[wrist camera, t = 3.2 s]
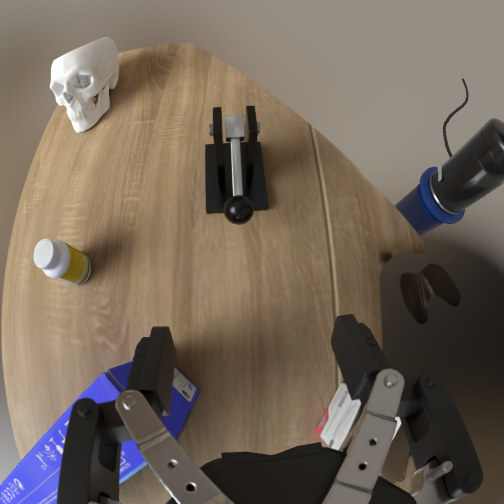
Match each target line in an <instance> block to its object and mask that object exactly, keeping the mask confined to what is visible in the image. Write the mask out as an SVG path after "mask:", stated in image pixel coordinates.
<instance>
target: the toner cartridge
mask: <svg viewBox="0 0 504 504" xmlns="http://www.w3.org/2000/svg"><path fill="white" fill-rule="evenodd" d="M132 363H133V361H132V362H129V363H126V364H123V365H120V366H117V367H114V368H111V369H108V370H107V373H105V372H104V373H102V374H101V375H100V376H99V377H98V378H97V379H96V380H95V381H94V382H93V383H92V384H91V385H90V386H89V387H88V388H87V389H86V390H85V391H84V392H83V393H82V395H81V396H80V397H79V398H78V399H77V400H79V399H81V398H91V399H93V400H94V401H95V402H96V403H103V402H108V401H113V400H116V399H117V397H118V396H119V395H120V394H121V393H122V392H124V391H125V389H126V386H127V382H128V378H129V374H130V370H131V366H132ZM199 394H200V390H199V389H198V388H197V387H196V386H195V385H194V384H193V383H191V382H190V381H189V380H188V379H187V378H186V377H185V376H184V375H183V374H182V373H181V372H180V371H179V370H178V369H177V368H176V367H175V370H174V378H173V386H172V395H171V404H170V415H169V416H162V423H163V424H164V426H165V427H166V428H167V430H168V431H169V432H170V433H171V434H172V436H173V437H174V438H175V439H176V441H178V438H179V436H180V435H181V433H182V432H183V430H184V427H185V425H186V423H187V420H188V418H189V416H190V414H191V412H192V409H193V407H194V405H195V403H196V401H197V399H198V397H199ZM77 400H76V401H77ZM76 401H75V402H76ZM75 402H74V403H75ZM74 403H73V404H72V405H71V406H70V408H69V409H68V410H67V411H66V412H65V413H64V414H63V415H62V416H61V417H60V418H59V419H58V420H57V421H56V423H55V424H54V425H53V426H52V427H51V428H50V429H49V430H48V431H47V432H46V434H45V435H44V436H43V437H42V438H41V439H40V440H39V441H38V443H37V444H36V445H35V446H34V447H33V448H32V449H31V450H30V452H29V453H28V454H27V455H26V456H25V457H24V458H23V459H22V461H21V462H20V463H19V464H18V465H17V466H16V468H15V469H14V470H13V471H12V472H11V474H10V475H9V476H8V477H7V478H6V479H5V480H4V481H3V483H2V484H1V485H0V504H57V492H58V482H59V474H60V466H61V460H62V454H63V448H64V442H65V437H66V432H67V427H68V423H69V418H70V414H71V410H72V406H73V405H74ZM137 447H138V446H137V444H136V442H135V441H134V440H132V441H126V442H122V448H121V461H120V479H119V485H120V484H121V483H123V482H124V481H126V480H127V479H128V478H130V477H131V476H133V475H134V474H135V473H137V472H138V471H139V470H141V469H142V468H144V467H145V466H146V465H148V464H147V462H146V461H145V459H144V458H143V456H142V455H141V453H140V452H139V450H138V448H137Z"/></svg>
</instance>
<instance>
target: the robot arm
mask: <svg viewBox="0 0 504 504" xmlns="http://www.w3.org/2000/svg"><path fill="white" fill-rule="evenodd" d="M462 80H463V83H464V85H465V88H466V94H467V95H466V96H467V97H466V100H465V102H464V103H463V104H462V105H461V106H460V107H458V108H457V109H456V110H455V111H453V112H452V113H451V114H450V115H449V116H448V118H447V119H446V121H445V122H444V125H443V136H444V141H445V146H446V149H447V152H448V154H449V156H450V159H449V160H447V161H446V162H445V163H444V164H443V165H442V166H441V165H440V166H439V167H438V169H437V170H436V171H434V172H433V173H432V174H431V175H430V177H429V180H428V187H429V192H430V194H431V197H432V199H433V201H434V202H435V204H436V205H437V206H438V207H439V209H440V210H442V211H443V212H444V213H446V214H448V215H451V216H454V215H457V214H458V213H460V212H461V211H462V210H464V209H465V208H467V207H469V206H470V205H472V204H473V203H475V202H476V201H478V200H480V199H481V198H483V197H484V196H486V195H487V194H488V193H490V192H491V191H493V190H494V189H496V188H497V187H499V186H500V185H502V184H503V183H504V122H503V121H501V120H499V119H495V118H493V119H490V120H489V121H488V122H487V123H486V124H485V125H484V126H483V127H482V128H481V129H480V130H479V131H478V132H477V133H476V134H475V135H474V136H473V137H472V138H471V139H470V140H469V141H468V142H466V143H465V144H464V145H463V146H462V147H461V148H460V149H459V150H458V151H457V152H456V153H455V154H454V155H453V156H452V154H451V152H450V149H449V146H448V142H447V138H446V125H447V123H448V122H449V120H450V118H451V117H452V116H453V115H454V114H455V113H456V112H457V111H459V110H460V109H461V108H463V107H464V105H465V104H466V103H467V101H468V90H467V86H466V83H465V81H464V79H462ZM331 345H332V349H333V352H334V354H335V357H336V360H337V362H338V365H339V368H340V370H341V373H342V376H343V378H344V381H345V384H346V386H347V389H348V392H349V395H350V397H351V400H352V401H353V400H357V399H359V400H360V402H361V404H360V406H359V409H358V411H357V413H356V416H355V418H354V420H353V423H352V425H351V427H350V429H349V432H348V434H347V436H346V438H345V439H344V441H343V443H342V445H341V446H340V448H339V450H336V449H333V448H327V447H322V445H321V442H318V443H313V444H307V445H301V446H296V447H294V448H291V449H289V450H286V451H283V452H281V453H278V454H275V455H267V454H259V453H252V452H230V453H222V458H218V459H215V460H213V461H210V462H208V463H206V464H205V465H203V466H202V467H201V468H199V467H198V466H197V465H196V464H195V462H194V461H193V460H192V459H191V458H190V457H189V455H188V454H187V453H186V452H185V451H184V449H183V448H182V447H181V446H180V444H179V443H178V442H177V441H176V439H175V438H174V437H173V436H172V434H171V433H170V432H169V431H168V430H167V428H166V427H165V426H164V424H163V423H162V416H169V415H170V404H171V395H172V386H173V378H174V370H175V362H176V350H175V346H174V342H173V339H172V336H171V332H170V329H169V327H152V330H151V334H150V337H143V338H142V339H141V341H140V342H139V343H138V344H137V347H136V350H135V356H134V358H133V363H132V366H131V370H130V374H129V378H128V382H127V386H126V389H125V391H124V392H122V393H121V394H120V395H119V396H118V397H117V399H116V400H113V401H108V402H103V403H96V402H95V401H94V400H93V399H91V398H81V399H79V400H77V401H76V402H75V403H74V405H73V406H72V410H71V414H70V418H69V423H68V427H67V432H66V437H65V442H64V448H63V454H62V460H61V466H60V474H59V482H58V492H57V504H121V503H119V479H120V461H121V448H122V442H126V441H132V440H134V441H135V442H136V444H137V446H138V447H137V448H138V450H139V452H140V453H141V455H142V456H143V458H144V459H145V461H146V462H147V464H148V465H149V467H150V468H151V469H152V471H153V472H154V474H155V475H156V476H157V478H158V479H159V480H160V482H161V483H162V484H163V485H164V487H165V488H166V489H167V491H168V492H169V493H170V494H171V496H172V498H171V499H170V500H169V501H168V502H167V503H166V504H448V503H450V502H453V501H455V500H457V499H460V498H462V497H464V496H466V495H468V494H470V493H473V492H474V491H476V490H477V489H478V488H479V487H480V485H481V484H482V481H483V471H482V468H481V465H480V462H479V459H478V457H477V454H476V451H475V448H474V446H473V443H472V441H471V438H470V436H469V433H468V431H467V429H466V426H465V424H464V422H463V419H462V417H461V415H460V412H459V410H458V408H457V406H456V404H455V402H454V400H453V397H452V396H451V393H450V391H449V389H448V387H447V385H446V383H445V381H444V379H443V378H442V376H441V375H440V374H439V373H438V372H436V371H434V370H426V371H425V372H423V373H422V374H421V375H420V377H404V376H402V375H401V374H400V373H399V372H398V371H396V370H394V369H391V368H390V366H389V364H388V362H387V360H386V358H385V356H384V354H383V352H382V351H381V349H380V347H379V345H378V343H377V341H376V339H374V336H373V334H372V332H371V330H370V329H369V328H368V327H367V326H366V325H365V324H363V323H359V324H358V322H357V320H356V318H355V317H354V315H353V314H349V315H341V316H337V318H336V322H335V326H334V330H333V333H332V337H331ZM395 417H399V418H400V421H401V424H402V426H403V429H404V432H405V435H406V438H407V441H408V445H409V448H410V451H411V454H412V457H413V460H414V464H415V467H416V472H415V474H414V475H413V478H412V484H411V487H412V491H411V493H410V494H409V493H408V492H406V491H404V490H402V489H401V488H399V487H397V486H395V485H394V484H392V483H390V482H388V481H387V480H385V479H384V478H382V477H381V476H379V474H380V471H381V469H382V466H383V464H384V461H385V458H386V455H387V453H388V450H389V448H390V445H391V441H392V439H393V436H394V433H395V429H396V426H397V420H395Z"/></svg>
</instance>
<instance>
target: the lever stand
mask: <svg viewBox="0 0 504 504" xmlns="http://www.w3.org/2000/svg"><path fill="white" fill-rule="evenodd" d="M209 130H210V136H211V135H213V138H214V144H207V145H205V176H206V212H207V214H212V213H224V205H225V202H226V201H227V200H228V199H229V198H230V197H231V196H233V180H232V160H231V143H223V129H222V111H221V107H216V108H213V124H210V125H209ZM258 133H260V123H259V122H257V121H256V113H255V106H246V122H245V142H240V151H241V170H242V188H243V195H244V196H246V197H248V198H249V199H250V200H251V201H252V203H253V206H254V211H260V210H267V208H268V201H267V193H266V184H265V176H264V168H263V160H262V152H261V144H260V142H257V136H258Z"/></svg>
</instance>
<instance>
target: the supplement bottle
mask: <svg viewBox="0 0 504 504" xmlns="http://www.w3.org/2000/svg"><path fill="white" fill-rule="evenodd" d="M34 262H35V264H36V266H37V267H39V268H41V269H43V271H44V273H45V274H46V275H47V276H48V277H51V278H53V279H56V280H59V281H62V282H65V283H68V284H70V285H74V286H79V285H82V284H83V283H85V282H86V281H87V279H88V278H89V275H90V272H91V264H90V260H89V258H88V257H87V256H86V255H85V254H84V253H82V252H80V251H78V250H77V249H75V248H73V247H71V246H70V245H68V244H66V243H65V242H63V241H60V240H55V241H51V240H49V239H43V240H41V241H40V242H39V243H38V244H37V246H36V247H35V250H34Z"/></svg>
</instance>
